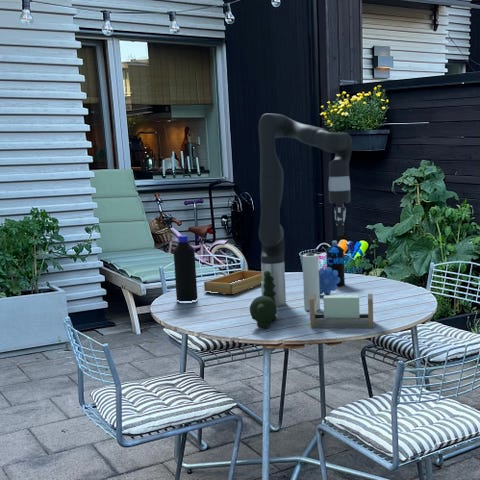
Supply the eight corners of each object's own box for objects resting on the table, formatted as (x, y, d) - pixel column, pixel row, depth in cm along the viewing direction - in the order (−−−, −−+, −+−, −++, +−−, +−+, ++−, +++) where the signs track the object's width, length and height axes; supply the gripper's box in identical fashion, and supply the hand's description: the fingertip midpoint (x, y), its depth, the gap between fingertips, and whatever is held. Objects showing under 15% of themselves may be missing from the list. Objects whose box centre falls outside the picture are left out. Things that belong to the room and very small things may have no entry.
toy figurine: (258, 319, 235) (246, 332, 211) (256, 269, 234) (244, 276, 210) (283, 319, 234) (274, 332, 209) (281, 269, 233) (272, 276, 208)
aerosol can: (326, 283, 284) (325, 240, 282) (345, 282, 283) (343, 239, 280) (326, 287, 276) (325, 242, 274) (345, 286, 275) (344, 242, 272)
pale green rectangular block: (324, 323, 215) (323, 297, 214) (325, 320, 219) (324, 295, 217) (359, 323, 213) (358, 297, 211) (359, 320, 216) (359, 295, 215)
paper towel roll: (318, 311, 235) (316, 255, 232) (302, 311, 237) (300, 255, 234) (322, 306, 242) (320, 252, 239) (307, 306, 244) (305, 252, 241)
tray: (242, 280, 302) (241, 269, 301) (269, 282, 294) (268, 271, 293) (204, 294, 277) (203, 281, 276) (232, 297, 269) (231, 284, 268)
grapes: (341, 292, 264) (340, 265, 262) (340, 296, 257) (339, 268, 256) (313, 292, 266) (312, 265, 265) (312, 296, 260) (311, 268, 258)
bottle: (194, 304, 258) (190, 237, 254) (174, 304, 260) (169, 237, 256) (200, 298, 266) (196, 234, 262) (180, 299, 268) (176, 234, 264)
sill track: (310, 327, 214) (309, 299, 213) (312, 321, 222) (311, 294, 220) (373, 328, 210) (372, 299, 208) (373, 321, 217) (372, 293, 216)
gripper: (349, 190, 213) (351, 236, 216) (350, 187, 227) (351, 231, 229) (327, 191, 215) (329, 237, 217) (329, 188, 229) (331, 232, 231)
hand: (340, 234), depth 223 cm, fingers open, 8 cm apart
